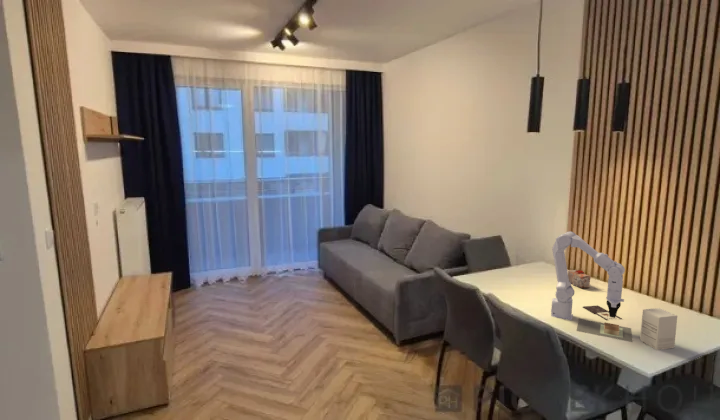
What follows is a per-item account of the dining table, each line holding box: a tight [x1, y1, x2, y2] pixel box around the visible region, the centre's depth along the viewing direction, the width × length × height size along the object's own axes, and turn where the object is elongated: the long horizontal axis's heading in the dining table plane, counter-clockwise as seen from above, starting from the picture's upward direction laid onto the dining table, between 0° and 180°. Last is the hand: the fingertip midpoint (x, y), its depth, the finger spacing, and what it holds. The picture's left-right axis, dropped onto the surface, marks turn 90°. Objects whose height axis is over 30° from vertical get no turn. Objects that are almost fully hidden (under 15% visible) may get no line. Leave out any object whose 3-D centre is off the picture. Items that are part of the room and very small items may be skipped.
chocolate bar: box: [582, 304, 623, 321], centre depth 209 cm, size 9×1×18 cm
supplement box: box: [639, 307, 678, 351], centre depth 175 cm, size 9×9×15 cm
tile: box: [603, 322, 620, 336], centre depth 188 cm, size 6×2×8 cm
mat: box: [576, 318, 633, 343], centre depth 190 cm, size 22×16×1 cm
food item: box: [567, 269, 591, 289], centre depth 251 cm, size 14×8×10 cm, turn 13°
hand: (612, 316), depth 190 cm, fingers closed
